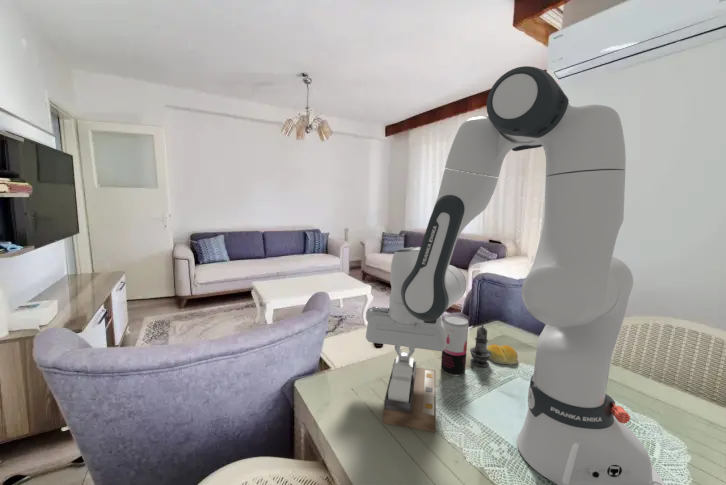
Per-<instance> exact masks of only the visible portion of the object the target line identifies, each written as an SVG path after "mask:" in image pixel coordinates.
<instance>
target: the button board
mask: <svg viewBox="0 0 726 485" xmlns="http://www.w3.org/2000/svg"><path fill="white" fill-rule="evenodd" d="M396 359H397V358H394V359H393V360H394V361H393V364H392V369H391V372H390V377H389V380H388V385H387V388H386V392H385V396H384V400H383V402H384V405H383V412H382V413H383V414H382V424H386V425H387V424H388V425H392V426H398V427H403V428H409V429H416V430H421V431H427V432H432V433H435V432H436V423H437V422H436V420H437V413H436V412H437V406H436V403H437V399H436V396H437V395H436V394H437V393H436V391H437V390H436V388H437V387H436V385H437V384H436V380H437V379H436V369H430V368H424V367H417V361H415V360H414V363H413V372H412V380H411V386H410V396H409V403H406V402H400V401H394V400H388V390H389V386H390V382H391V379H392V373H393V369H394V365H395V363H396Z"/></svg>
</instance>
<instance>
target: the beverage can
mask: <svg viewBox="0 0 726 485" xmlns="http://www.w3.org/2000/svg"><path fill="white" fill-rule="evenodd" d="M443 323H444V327H445V337H446V348H445V349H444V350H443V351H441V363H440V368H441V370H442V371H443V372H444V373H445V374H447V375H449V376H454V377H457V376H458V377H460V376H462V375H463V374H465V372H466V364H467V362H466V361H467V351H468V350H467V348H468V336H469V335H468V334H469V320H468V319H467V318H464V317H462V316H459V315H448V316H445V317H444V320H443Z"/></svg>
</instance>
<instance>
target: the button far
mask: <svg viewBox="0 0 726 485" xmlns="http://www.w3.org/2000/svg"><path fill="white" fill-rule="evenodd" d="M398 358H399V355H397V356H396V358H395V359H396V363H395V365H397V366H404V367H412V372H413V363H414V361H415V360H414V357H410V362H402V361H398Z"/></svg>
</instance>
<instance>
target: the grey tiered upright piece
mask: <svg viewBox="0 0 726 485" xmlns="http://www.w3.org/2000/svg"><path fill="white" fill-rule="evenodd" d="M474 340H475V346H474V347H471V348H470V349H469V352H470V356H471V357H472V358H471V359H470V360H469V362H470V364H471V365H472V366H474V367H476V368H480V369H485V368H486V369H487V368H488V367H489V366H490V363H489V362H488V360H490V359H489V358H490V356H491V352H490V351H489V350H487V348H488V347H487V343H488V342H489V339H488V329H486V328H485V326H484V324H481V327H478V328H477V330H476V337H475V338H474Z"/></svg>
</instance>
